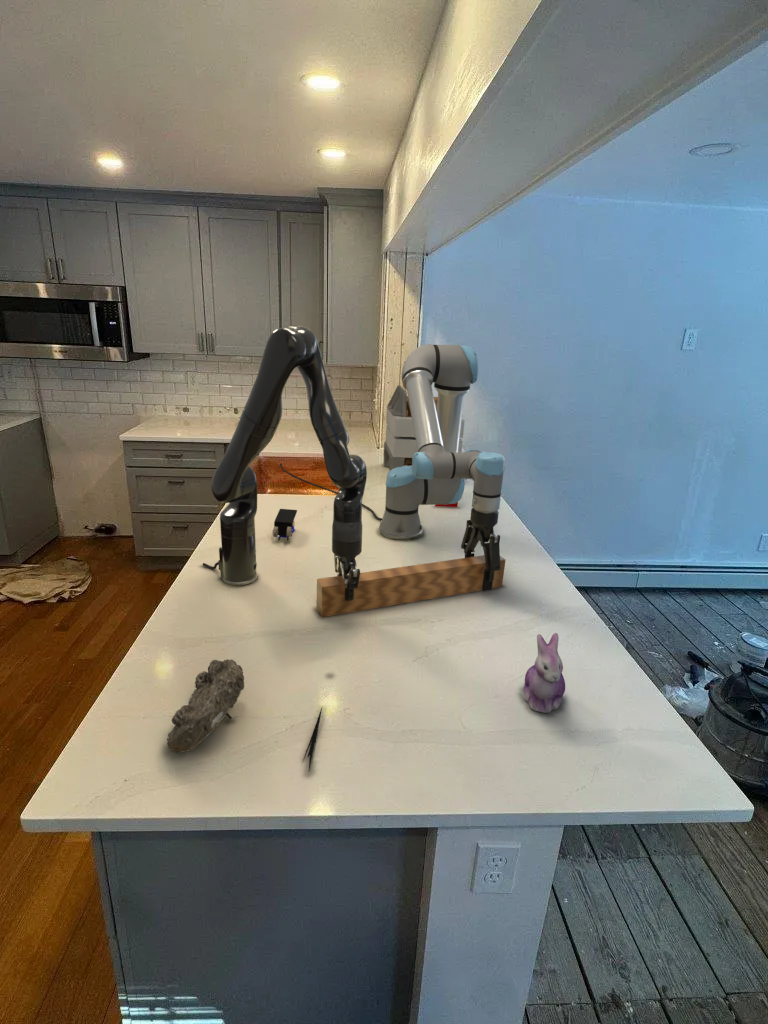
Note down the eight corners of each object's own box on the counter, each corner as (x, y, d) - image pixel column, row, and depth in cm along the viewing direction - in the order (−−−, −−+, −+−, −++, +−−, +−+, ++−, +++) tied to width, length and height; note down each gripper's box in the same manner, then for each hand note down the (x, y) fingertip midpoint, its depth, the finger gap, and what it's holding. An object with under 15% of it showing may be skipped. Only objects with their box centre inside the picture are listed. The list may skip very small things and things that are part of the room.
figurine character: (292, 547, 188) (298, 526, 201) (292, 527, 184) (297, 507, 198) (272, 547, 187) (279, 526, 201) (271, 526, 184) (278, 506, 197)
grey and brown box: (382, 463, 289) (386, 382, 275) (445, 464, 293) (451, 384, 279) (390, 482, 257) (394, 392, 243) (460, 483, 261) (468, 394, 247)
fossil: (192, 660, 117) (244, 628, 112) (224, 691, 120) (276, 661, 115) (142, 746, 98) (202, 712, 93) (182, 779, 101) (242, 748, 96)
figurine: (543, 721, 111) (554, 655, 106) (509, 690, 119) (518, 628, 114) (578, 708, 115) (591, 644, 110) (543, 679, 123) (553, 619, 118)
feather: (331, 679, 122) (336, 673, 122) (307, 777, 96) (313, 769, 95) (324, 675, 122) (329, 669, 121) (298, 772, 95) (304, 764, 95)
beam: (493, 579, 169) (496, 553, 166) (502, 586, 165) (505, 559, 162) (316, 608, 148) (316, 578, 146) (321, 617, 144) (321, 587, 141)
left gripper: (324, 526, 147) (323, 585, 153) (342, 547, 134) (340, 610, 140) (351, 523, 150) (350, 581, 155) (371, 543, 137) (369, 606, 143)
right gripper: (453, 497, 164) (447, 567, 172) (496, 524, 145) (486, 601, 152) (475, 495, 167) (468, 564, 175) (520, 521, 148) (510, 597, 155)
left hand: (345, 595), depth 148 cm, fingers closed on beam, 4 cm apart
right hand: (477, 581), depth 164 cm, fingers open, 10 cm apart
